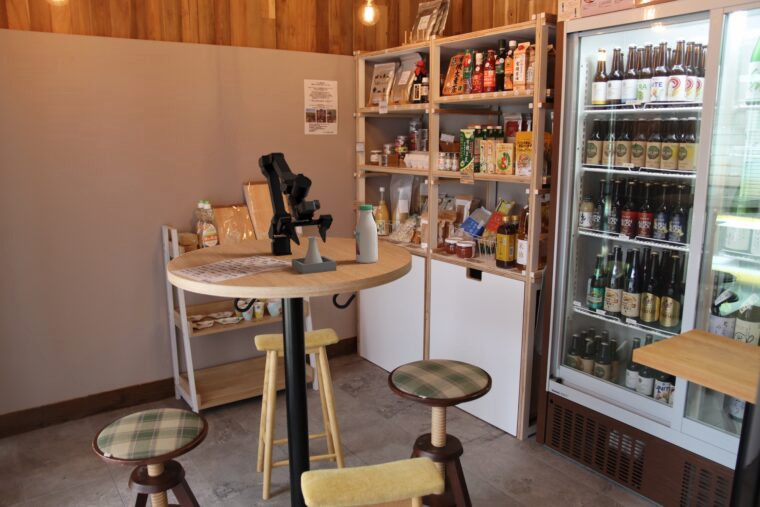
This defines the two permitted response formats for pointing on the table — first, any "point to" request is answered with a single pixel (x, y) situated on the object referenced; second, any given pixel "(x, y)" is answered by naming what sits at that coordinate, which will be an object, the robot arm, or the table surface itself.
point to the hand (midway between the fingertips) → (312, 243)
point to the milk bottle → (366, 236)
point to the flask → (312, 252)
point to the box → (314, 265)
